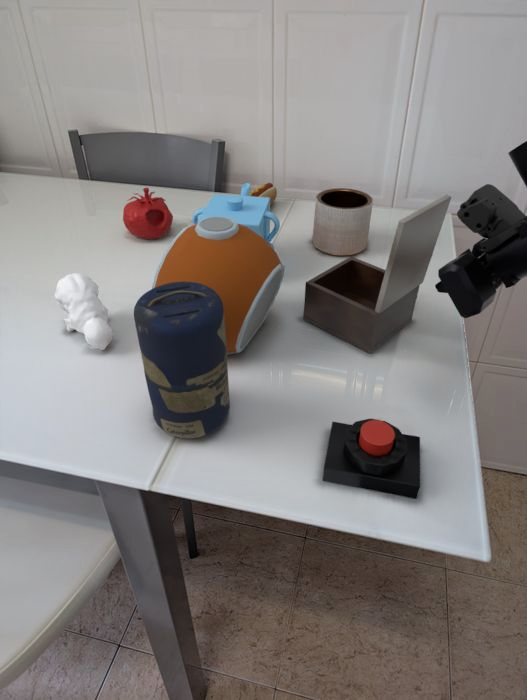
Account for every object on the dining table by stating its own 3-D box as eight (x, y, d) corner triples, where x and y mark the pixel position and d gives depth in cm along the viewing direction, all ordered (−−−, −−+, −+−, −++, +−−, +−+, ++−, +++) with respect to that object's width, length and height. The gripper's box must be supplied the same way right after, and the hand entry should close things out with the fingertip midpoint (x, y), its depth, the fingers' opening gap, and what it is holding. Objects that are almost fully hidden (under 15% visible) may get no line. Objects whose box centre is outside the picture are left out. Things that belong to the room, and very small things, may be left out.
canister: (230, 443, 58) (223, 317, 47) (149, 446, 58) (122, 319, 47) (230, 388, 66) (224, 267, 55) (158, 390, 65) (137, 269, 54)
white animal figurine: (89, 262, 75) (119, 305, 67) (99, 307, 80) (128, 351, 73) (46, 274, 72) (73, 320, 65) (59, 319, 78) (85, 366, 70)
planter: (364, 234, 103) (371, 188, 97) (369, 258, 94) (376, 210, 88) (312, 231, 104) (315, 186, 98) (311, 256, 95) (315, 208, 89)
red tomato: (116, 239, 101) (107, 194, 95) (142, 220, 108) (136, 177, 102) (159, 247, 98) (153, 201, 92) (183, 227, 105) (178, 183, 100)
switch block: (416, 449, 58) (423, 425, 55) (416, 499, 52) (424, 475, 50) (330, 434, 59) (333, 410, 57) (322, 480, 54) (325, 456, 52)
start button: (392, 434, 55) (395, 423, 54) (391, 459, 52) (394, 447, 51) (360, 428, 55) (362, 417, 54) (357, 452, 53) (359, 441, 51)
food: (250, 224, 106) (250, 202, 103) (229, 219, 108) (228, 197, 105) (281, 203, 116) (281, 182, 113) (260, 198, 118) (260, 177, 115)
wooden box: (303, 319, 78) (305, 282, 74) (346, 291, 85) (351, 256, 81) (369, 354, 72) (376, 315, 67) (411, 321, 78) (420, 283, 74)
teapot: (274, 285, 86) (275, 215, 78) (187, 278, 88) (180, 209, 80) (286, 240, 100) (288, 177, 92) (211, 235, 102) (207, 172, 94)
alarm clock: (201, 288, 86) (193, 189, 75) (296, 310, 80) (302, 207, 70) (138, 351, 72) (116, 241, 61) (247, 383, 66) (245, 268, 56)
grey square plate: (398, 220, 58) (404, 223, 58) (446, 194, 65) (451, 196, 65) (374, 311, 67) (379, 313, 67) (418, 279, 74) (423, 282, 73)
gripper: (551, 150, 57) (442, 214, 70) (479, 193, 47) (367, 258, 60) (596, 234, 58) (480, 282, 71) (535, 295, 47) (412, 338, 60)
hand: (437, 287), depth 65 cm, fingers closed
